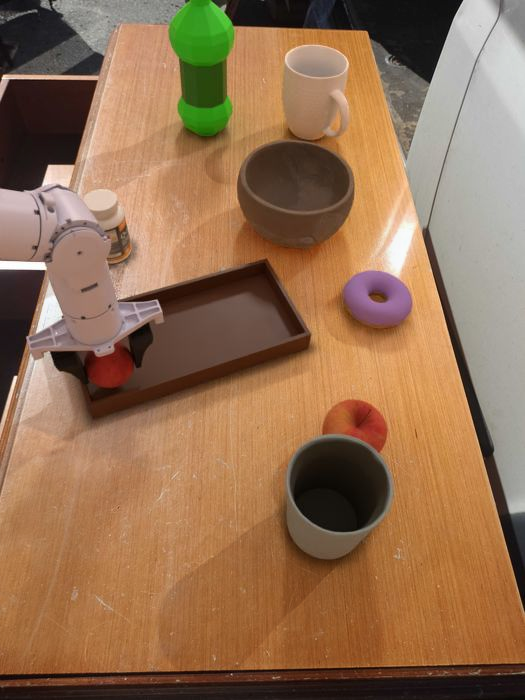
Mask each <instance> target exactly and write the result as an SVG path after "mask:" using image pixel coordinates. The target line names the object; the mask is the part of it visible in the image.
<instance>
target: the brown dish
mask: <svg viewBox="0 0 525 700" xmlns="http://www.w3.org/2000/svg"><path fill="white" fill-rule="evenodd" d="M153 300H158V302H159V305H160V307H161V309H162V312H163V318H164V322H163V323H159V324H155V323H154V321H150V322H149V324H150V328H151V331H152V333H153V343H152V344H151V345H150V346H149V347H148V348H147V349H146V351H145V353H144V356H143V359H142V366H141V367H140V368H137V369H136V366H135V363H134V370H133V373H132V375H131V377H130V378H129V379H128V380H127V381H126V383H124V384H122V385H121V386H119V387H114V388H105V387H100V386H98V385H95V384H93V383H92V382H91V380H90V379H89V378H88V380H89V384H86V385H84V384H83V383H82V382H81V381H80V380H79V383H80V388H81V390H82V394H83V397H84V401H85V405H86V408H87V410H88V413H89V415H90V417H91V419H92V420H97V419H101V418H102V417H106V416H108V415H112V414H115V413H117V412H121V411H124V410H126V409H129V408H133V407H135V406H138V405H142V404H144V403H148V402H151V401H154V400H156V399H160V398H162V397H165V396H169V395H172V394H176V393H177V392H180V391H183V390H186V389H189V388H192V387H196V386H199V385H202V384H205V383H207V382H211V381H213V380H214V381H215V380H216V379H219V378H222V377H226V376H229V375H231V374H234V373H238V372H240V371H243V370H247V369H249V368H252V367H255V366H259V365H262V364H264V363H268V362H270V361H273V360H276V359H280V358H282V357H286V356H288V355H291V354H294V353H297V352H300V351H304V350H306V349H309V348H310V344H311V340H312V339H311V338H312V333H311V332H310V329H309V328H308V326H307V324H306V323H305V321H304V319H303V317H302V316H301V314H300V312H299V310H298V309H297V307H296V305H295V304H294V302H293V300H292V299H291V297H290V295H289V293H288V292H287V290H286V289H285V287H284V285H283V284H282V281H281V280H280V278H279V277H278V275H277V273H276V271H275V270H274V268H273V266H272V264H271V263H270V261H269V260H268V258H267V257H266V258H262V259H258V260H255V261H252V262H249V263H244V264H241V265H237V266H234V267H230V268H226V269H224V270H220V271H219V270H218V271H216V272H213V273H209V274H206V275H201V276H198V277H194V278H191V279H188V280H187V279H186V280H184V281H181V282H177V283H174V284H170V285H167V286H163V287H160V288H155V289H152V290H149V291H145V292H142V293H138V294H134V295H131V296H127V297H123V298H120V299H117V301H118V302H148V301H153ZM60 317H61V319H62V318H64V316H63V315H61V316H60ZM119 342H120V343H122V344H124V345H125V346H126V347H127V348H128V349H129V351H130V346H129V339H128V335H127V336H126V337H124V338H123V339H121V340H120V341H119ZM130 352H131V351H130ZM77 353H78V355H79V357H80V359H81V361H82V363H83V365H84V358H85V356H86V353H87V351H77ZM87 377H88V376H87Z"/></svg>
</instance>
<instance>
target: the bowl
mask: <svg viewBox="0 0 525 700" xmlns="http://www.w3.org/2000/svg"><path fill="white" fill-rule="evenodd" d="M355 187H356V186H355V176H354V172H353V169H352V168H351V166H350V164H349V163H348V162H347V160H346V159H345V158H344V157H342V156H341V154H339V153H337V152H336V151H334V150H332V149H330V148H329V147H326V146H324V145H322V144H318V143H316V142H313V141H312V142H311V141H307V140H297V139H278V140H274V141H270V142H267V143H264V144H261V145H260V146H258V147H256V148H255V149H252V151H251V152H250V153H249V154H248V155H247V156H246V157H245V158H244V159H243V162H242V164H241V166H240V168H239V171H238V175H237V182H236V194H237V200H238V203H239V208H240V210H241V212H242V214H243V216H244V218H245V219H246V221H247V222H248V224H249V226H251V227H252V228H253V229H254V230H255V232H256V233H257V234H258V235H259V236H261V237H262V239H264V240H266V241H268V242H270V243H272V244H274V245H277V246H279V247H284V248H289V249H298V248H299V249H301V250H309V249H310V248H312V247H314V246H316V245H319V244H321V243H323V242H325V241H327V240H329V239H330V238H332V237H333V236H334V235H335V234H336V233H337V232H338V231H340V228H342V227H343V225H344V223H345V222H346V221H347V219H348V217H349V216H350V213H351V212H352V211H351V210H352V208H353V203H354V200H355V193H356V191H355V189H356V188H355Z"/></svg>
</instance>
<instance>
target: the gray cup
mask: <svg viewBox="0 0 525 700" xmlns="http://www.w3.org/2000/svg"><path fill="white" fill-rule="evenodd" d="M284 479H285V499H286V524H287V529H288V533H289V535H290V537H291V539H292V540H293V542H294V544H295V545H296V546H297V547H298V548H299V549H300V550H301V551H302V552H304V553H305V554H307V555H309V556H311V557H313V558H316V559H320V560H336V559H339V558H342V557H344V556H346V555H348V554H349V553H350V552H352V551H353V550H354V549H355V548H356V547H357V546H358V545H359V544H360V542H361V541H363V540H364V539H365V538H366V537H367V536H368V534H369V533H370V532H371V531H372V530H374V529H375V528H376V527H377V526H378V525H379V524H380V523H382V521H383V520H384V519H385V518H386V516H387V514H388V513H389V511H390V509H391V508H392V504H393V501H394V496H395V495H394V493H395V487H394V479H393V476H392V472H391V469H390V468H389V465H388V464H387V462H386V460H385V459H384V458H383V456H382V455H381V453H378V452H377V451H376V450H375V449H374V448H373V447H371V446H370V445H369V444H367V443H365V442H364V441H362V440H360V439H358V438H355V437H352V436H348V435H342V434H328V435H317V436H315V437H313V438H311V439H309V440H307V441H306V442H305V443H303V444H301V445H300V447H299V448H298V449H296V450H295V452H294V453H293V455H292V457H291V458H290V460H289V461H288V465H287V467H286V472H285V478H284Z"/></svg>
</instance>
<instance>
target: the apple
mask: <svg viewBox="0 0 525 700" xmlns="http://www.w3.org/2000/svg"><path fill="white" fill-rule="evenodd" d="M321 432H322V435H328V434H342V435H348V436H352V437H355V438H358V439H360V440H362V441H364V442H365V443H367V444H369V445H370V446H371V447H373V448H374V449H375V450H376V451H377V452H378V453H379V454H381V452H382V450H383V449H384V447H385V445H386V442H387V437H388V425H387V422H386V419H385V418H384V416H383V414H382V413H381V412H380V411H379V410H378V409H377V407H375V406H374V405H373V404H371V403H369V402H367V401H364V400H361V399H345V400H341V401H340V402H338V403H335V405H333V406H332V407H331V408H330V409H329V410H328V412H327V413H326V415H325V417H324V420H323V423H322V428H321Z"/></svg>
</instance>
